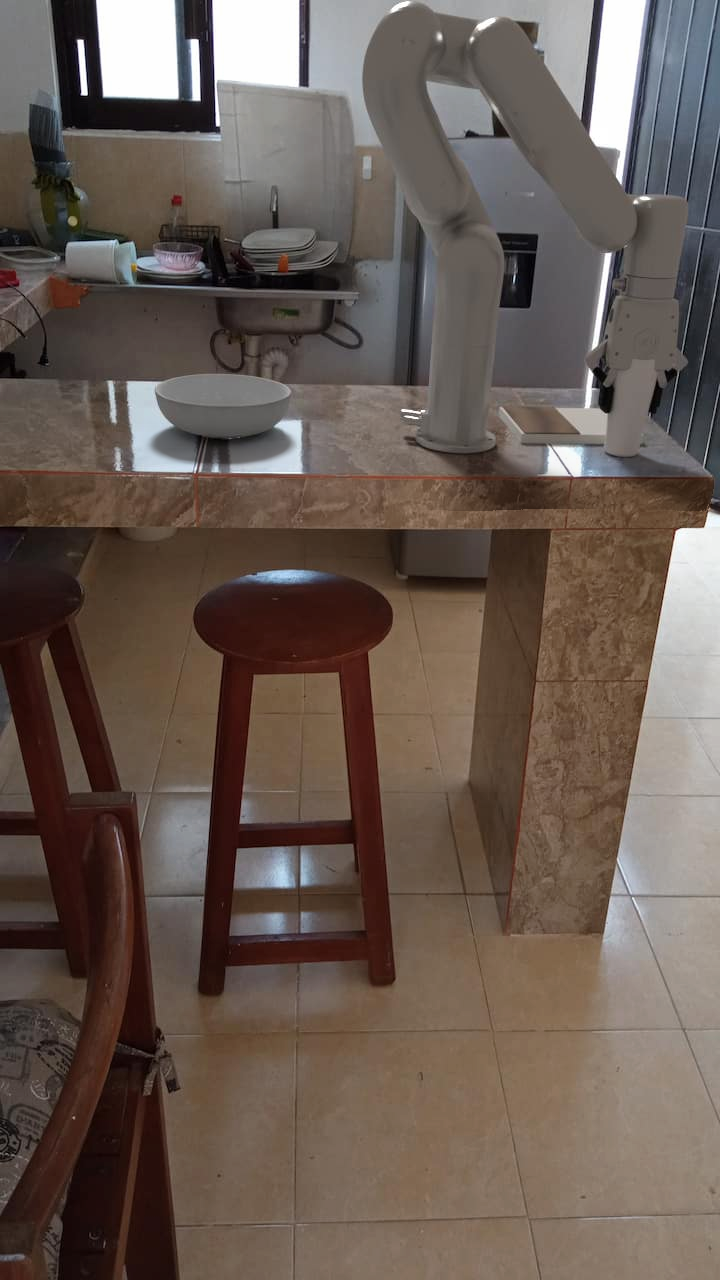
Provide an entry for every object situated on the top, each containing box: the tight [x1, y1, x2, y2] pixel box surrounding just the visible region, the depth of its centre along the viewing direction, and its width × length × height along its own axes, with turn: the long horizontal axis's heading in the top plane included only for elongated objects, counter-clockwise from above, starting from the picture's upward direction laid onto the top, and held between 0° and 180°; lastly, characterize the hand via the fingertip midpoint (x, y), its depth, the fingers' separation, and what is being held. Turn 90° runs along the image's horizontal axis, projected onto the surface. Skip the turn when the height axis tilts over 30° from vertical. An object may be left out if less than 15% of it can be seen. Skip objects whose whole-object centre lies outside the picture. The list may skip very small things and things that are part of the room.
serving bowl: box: [154, 373, 292, 440], centre depth 156 cm, size 21×21×7 cm
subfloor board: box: [498, 406, 645, 445], centre depth 166 cm, size 20×16×2 cm
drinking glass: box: [603, 359, 658, 458], centre depth 152 cm, size 7×7×15 cm
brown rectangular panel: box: [502, 405, 580, 434], centre depth 165 cm, size 9×16×2 cm, turn 5°
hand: (627, 410), depth 152 cm, fingers closed on drinking glass, 6 cm apart
